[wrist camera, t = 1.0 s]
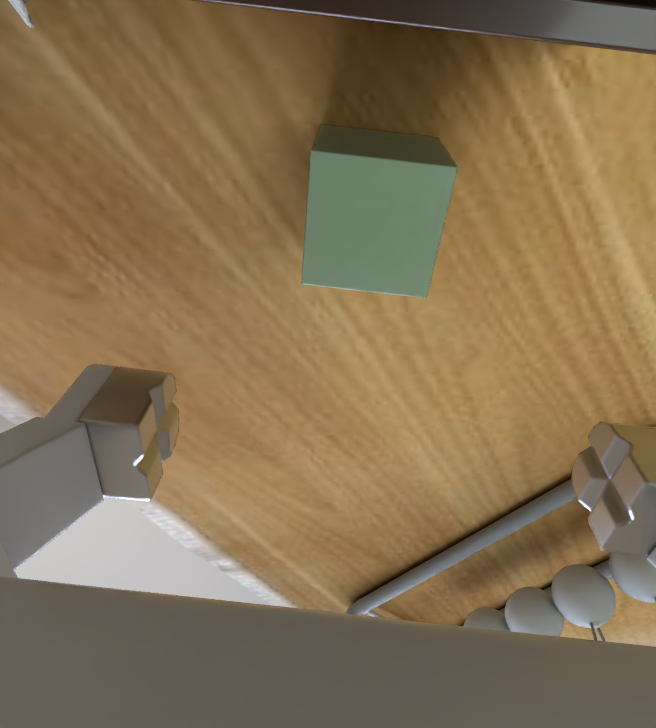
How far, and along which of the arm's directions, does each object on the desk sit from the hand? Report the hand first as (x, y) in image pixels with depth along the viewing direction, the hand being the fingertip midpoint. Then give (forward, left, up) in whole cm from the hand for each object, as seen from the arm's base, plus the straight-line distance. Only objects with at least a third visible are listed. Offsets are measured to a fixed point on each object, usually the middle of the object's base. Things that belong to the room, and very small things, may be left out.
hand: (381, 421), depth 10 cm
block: (0, 0, -15) cm, 15 cm away
